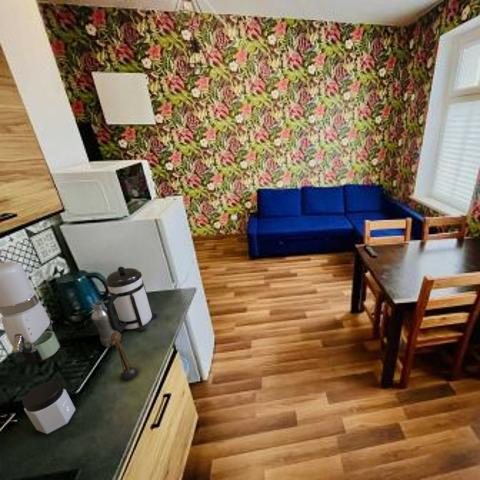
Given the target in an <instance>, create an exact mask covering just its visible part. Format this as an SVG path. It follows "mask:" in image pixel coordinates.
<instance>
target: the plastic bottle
mask: <svg viewBox="0 0 480 480" xmlns="http://www.w3.org/2000/svg"><path fill="white" fill-rule="evenodd" d="M91 308H92V310H93V311H92V314H91V320H92V321H93V323H94V325H95V326H96V328H97V330H98V334H99V340H100V343H101V344H102V346H103V347H106V348H110V347H111V346H110V344H111V339H110V338H111V335H112V334H113V333H114V332H119V331H117V330H115V329H114V328H113V326H112V324H111V321H110V318H109V316H108V312H107V306H106V305H105V303H104V301H102V300H99V301H95V302H94V303H92V304H91ZM115 345H116V344H114V346H115Z"/></svg>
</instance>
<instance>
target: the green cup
mask: <svg viewBox="0 0 480 480" xmlns="http://www.w3.org/2000/svg"><path fill="white" fill-rule="evenodd" d="M52 331H53V330H51V331H44V332H43V333H42V334H41V336H40V337H39V338H38V339H37V340H36V341H35V350H36V349H38V351H39V353H40V355H41V357H42V360H41V361H43V360H46V359H48V358H50V357H51V356H53V355H54V354H56V353H57V352H58V350H59V349H60V348H61V344H60V342H59V340H58V337H57V335H56V334H55V332H54V331H53V332H52ZM25 342H29V341H26V340H24V343H25ZM25 348H30V344H27V345H25Z"/></svg>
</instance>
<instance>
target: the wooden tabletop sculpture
mask: <svg viewBox="0 0 480 480" xmlns="http://www.w3.org/2000/svg"><path fill="white" fill-rule="evenodd" d="M110 339H111V344H110V347H114V346H115V347H116V350H117V352H118V355H119V358H120V362H121V367H122V372H121V374H120V378H121V380H122V382H130V381H132V380H134V379H135V378H136V377H137V375H138V370H137V369H136V368H135V367H133V366H132V365H131V363H130V362H129V360H128V358H127V356H126V353H125V350H124V348H123V345H122V342H121V340H122V334H121V332H119V331H118V332H114V333H113V334H112V335H111V338H110ZM114 344H115V345H114Z"/></svg>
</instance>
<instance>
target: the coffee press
mask: <svg viewBox="0 0 480 480" xmlns="http://www.w3.org/2000/svg"><path fill="white" fill-rule="evenodd" d="M142 276H143V274H142V272H141V271H139V270H138V269H137V268H134V267H124V266H119V267H118V268H117V269H116V270H114V271H113V272H111V273H110V274H108V275H107V276H106V279H105V282H104V284H105V286H106V287H107V291H108V293H109V296H110V297H109V299H108V300H107V303H106V307H107V312H108V316H109V318H110V321H111V324H112V326H113V328H114V329H115V330H117V331H118V332H119V333H122V332H123V331H124V330H133V329H138V328H139V331H140V332H141V333H142V332H145V327H144V326H145V325H146V324H148V323H149V322H150V321H151V319H155V318H156V317H157V314H156V313H154V312H153V310H152V308H151V304H150V300H149V297H148V293H147V289H146V286H145V283H144V280H143V278H142ZM113 308H114V309H113ZM114 311H115V312H114ZM115 313H116V314H115ZM153 315H154V316H153ZM116 316H117V317H116ZM118 322H119V323H118Z"/></svg>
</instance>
